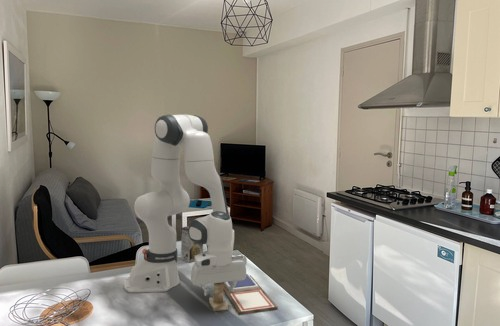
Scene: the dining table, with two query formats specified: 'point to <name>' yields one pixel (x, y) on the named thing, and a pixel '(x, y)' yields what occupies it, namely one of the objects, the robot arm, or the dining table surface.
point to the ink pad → (243, 284)
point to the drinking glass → (232, 240)
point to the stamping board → (249, 310)
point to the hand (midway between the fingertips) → (218, 293)
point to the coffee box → (189, 247)
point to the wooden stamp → (218, 299)
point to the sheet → (251, 300)
